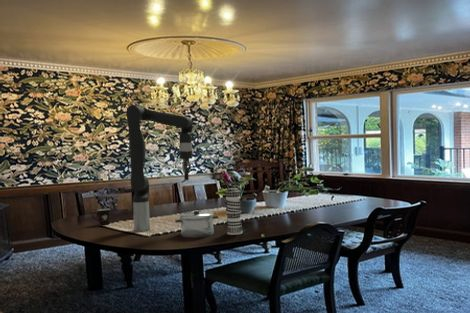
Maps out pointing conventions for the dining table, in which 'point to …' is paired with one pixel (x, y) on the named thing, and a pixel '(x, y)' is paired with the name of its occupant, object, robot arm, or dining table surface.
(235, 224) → the decorative candle
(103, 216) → the coffee mug
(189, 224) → the cooking pot
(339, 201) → the dining table surface
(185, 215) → the pot lid
